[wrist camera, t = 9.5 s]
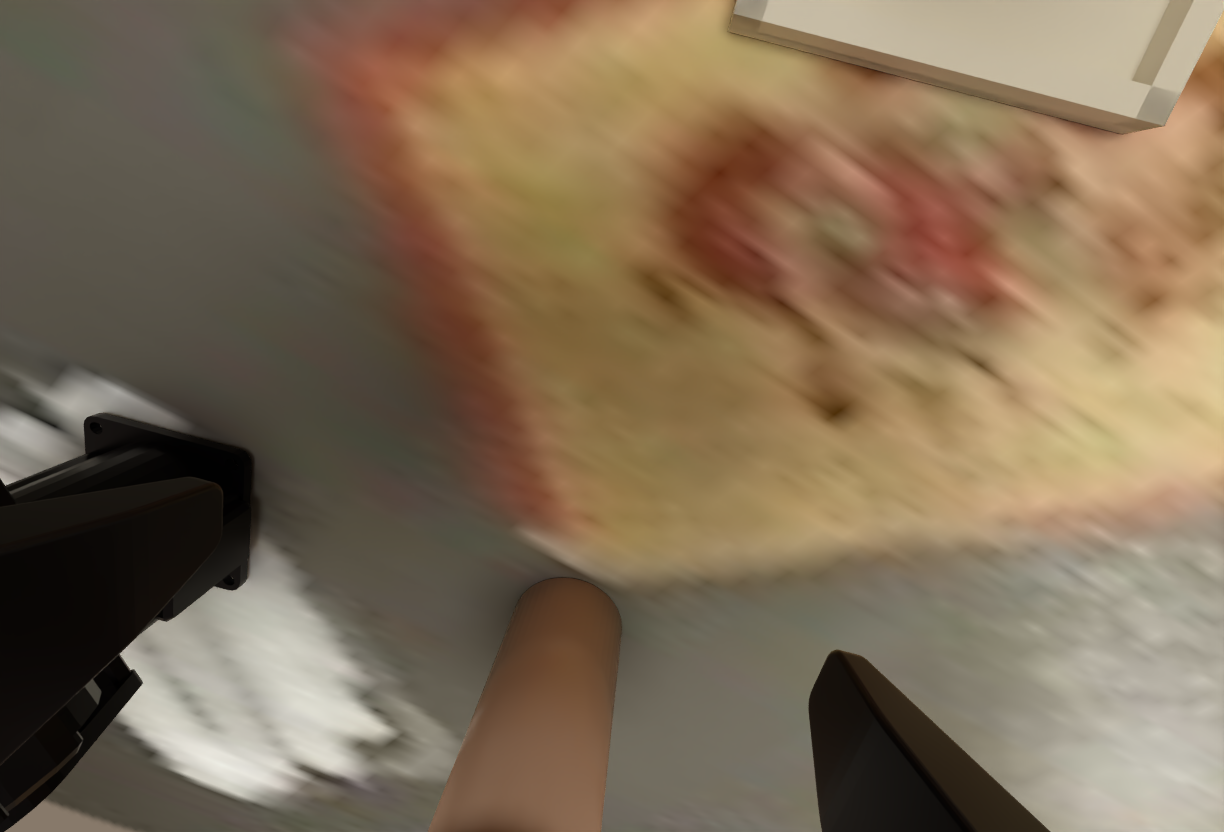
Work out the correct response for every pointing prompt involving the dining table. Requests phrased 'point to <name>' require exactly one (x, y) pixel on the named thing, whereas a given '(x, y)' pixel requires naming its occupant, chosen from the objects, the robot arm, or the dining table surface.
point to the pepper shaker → (541, 719)
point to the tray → (1010, 48)
